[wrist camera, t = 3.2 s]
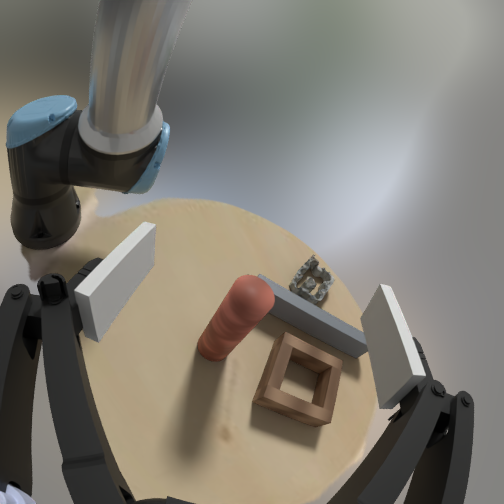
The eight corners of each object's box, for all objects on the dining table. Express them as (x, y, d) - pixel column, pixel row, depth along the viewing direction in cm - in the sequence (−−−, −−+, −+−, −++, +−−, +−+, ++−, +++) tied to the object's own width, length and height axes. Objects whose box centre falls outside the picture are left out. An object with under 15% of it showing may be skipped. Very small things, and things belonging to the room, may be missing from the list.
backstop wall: (243, 298, 50) (255, 283, 47) (248, 289, 52) (259, 273, 48) (356, 358, 51) (372, 348, 47) (357, 348, 53) (373, 338, 49)
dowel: (192, 351, 40) (225, 298, 29) (205, 326, 43) (242, 267, 32) (221, 367, 40) (267, 321, 29) (233, 342, 43) (279, 289, 33)
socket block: (252, 401, 38) (263, 396, 35) (274, 341, 47) (285, 331, 44) (315, 427, 38) (330, 423, 35) (329, 368, 47) (342, 360, 44)
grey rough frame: (304, 263, 64) (313, 252, 61) (328, 284, 62) (339, 274, 60) (282, 287, 56) (292, 275, 53) (310, 312, 55) (322, 301, 52)
